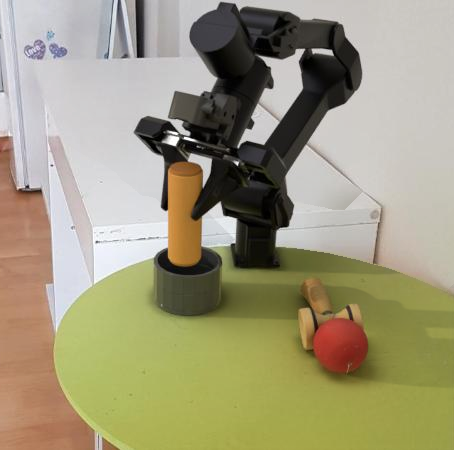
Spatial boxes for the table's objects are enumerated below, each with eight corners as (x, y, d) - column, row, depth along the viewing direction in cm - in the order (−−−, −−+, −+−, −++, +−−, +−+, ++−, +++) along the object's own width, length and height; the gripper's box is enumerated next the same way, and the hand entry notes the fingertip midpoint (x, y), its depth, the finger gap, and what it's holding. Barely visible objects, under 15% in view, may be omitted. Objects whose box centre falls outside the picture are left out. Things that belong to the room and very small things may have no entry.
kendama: (275, 308, 97) (304, 377, 80) (286, 263, 96) (319, 324, 79) (332, 316, 99) (373, 387, 81) (344, 272, 97) (388, 334, 80)
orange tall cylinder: (174, 249, 93) (174, 158, 88) (205, 254, 92) (207, 163, 87) (163, 264, 90) (163, 171, 84) (195, 269, 89) (196, 176, 83)
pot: (153, 281, 100) (153, 244, 98) (218, 280, 101) (219, 244, 99) (153, 316, 93) (153, 277, 90) (223, 315, 93) (224, 277, 91)
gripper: (141, 49, 88) (81, 164, 85) (280, 76, 79) (218, 207, 76) (181, 98, 98) (128, 204, 94) (309, 128, 88) (255, 246, 85)
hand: (178, 214), depth 87 cm, fingers closed on orange tall cylinder, 4 cm apart
